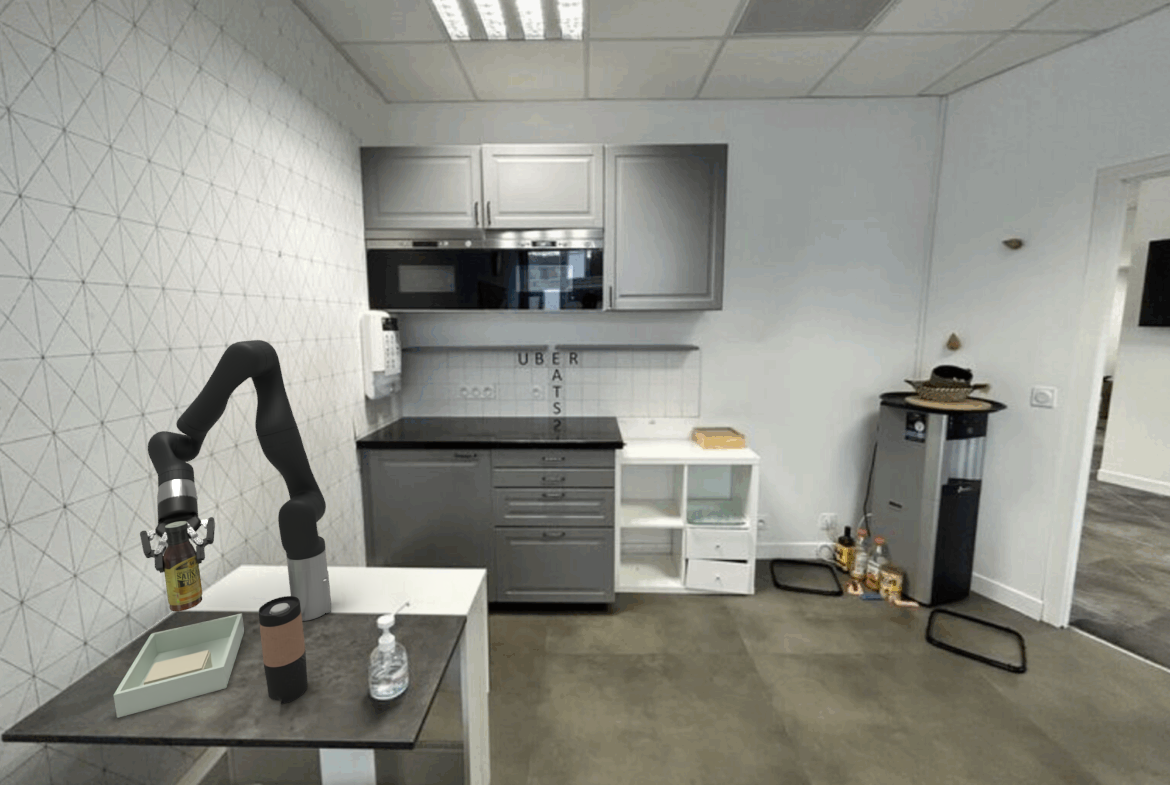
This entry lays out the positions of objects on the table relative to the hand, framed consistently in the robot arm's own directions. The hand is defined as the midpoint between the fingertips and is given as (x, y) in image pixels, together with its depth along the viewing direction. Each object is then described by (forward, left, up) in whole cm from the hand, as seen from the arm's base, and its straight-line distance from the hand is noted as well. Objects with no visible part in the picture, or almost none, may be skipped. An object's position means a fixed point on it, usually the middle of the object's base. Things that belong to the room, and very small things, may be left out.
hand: (180, 566), depth 113 cm
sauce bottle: (0, -2, -11) cm, 11 cm away
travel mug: (-21, +21, -24) cm, 38 cm away
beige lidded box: (0, +10, -23) cm, 25 cm away
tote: (0, +4, -24) cm, 24 cm away
